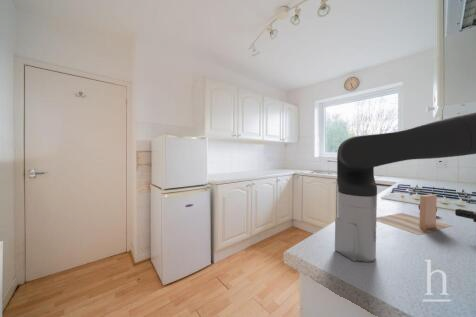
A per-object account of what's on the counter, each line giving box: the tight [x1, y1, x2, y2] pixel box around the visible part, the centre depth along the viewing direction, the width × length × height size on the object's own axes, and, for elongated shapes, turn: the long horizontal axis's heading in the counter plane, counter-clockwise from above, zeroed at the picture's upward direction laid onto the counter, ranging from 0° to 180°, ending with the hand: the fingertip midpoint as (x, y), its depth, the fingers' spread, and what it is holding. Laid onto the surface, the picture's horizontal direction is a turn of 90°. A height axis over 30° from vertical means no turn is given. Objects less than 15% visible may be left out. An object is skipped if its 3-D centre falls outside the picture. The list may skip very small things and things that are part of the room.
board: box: [376, 212, 453, 236], centre depth 72 cm, size 22×16×1 cm
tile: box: [419, 193, 438, 230], centre depth 66 cm, size 7×2×12 cm, turn 110°
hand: (456, 211), depth 60 cm, fingers closed
